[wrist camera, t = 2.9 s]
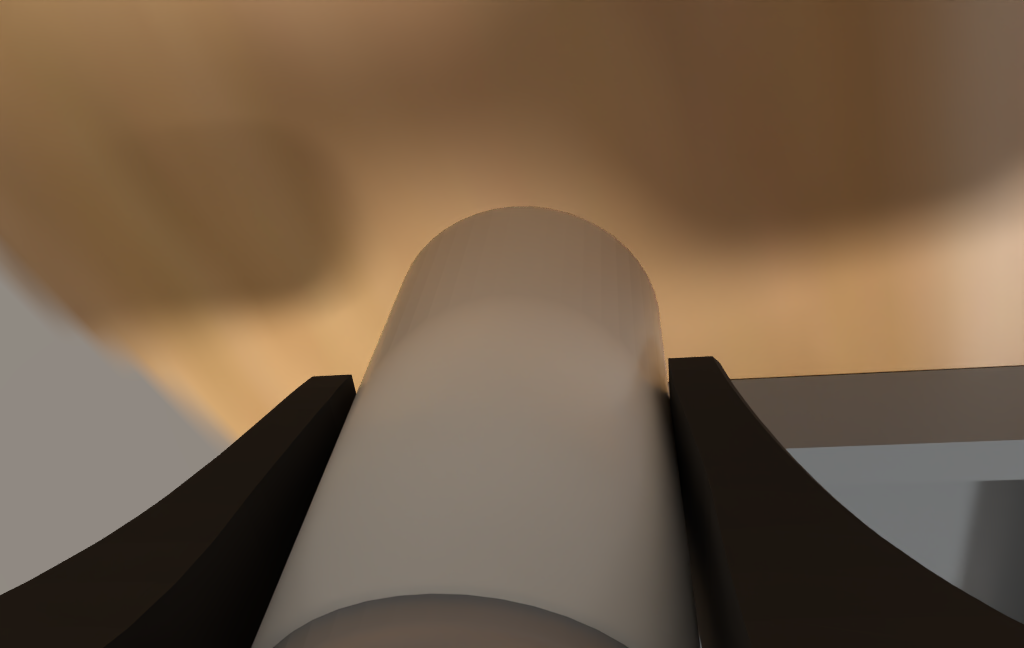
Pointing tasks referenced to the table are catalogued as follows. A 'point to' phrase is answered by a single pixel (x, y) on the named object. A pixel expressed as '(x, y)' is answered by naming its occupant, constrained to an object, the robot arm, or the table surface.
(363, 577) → the cylinder
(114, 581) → the robot arm
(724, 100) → the table surface
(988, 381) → the tray
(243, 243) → the table surface
